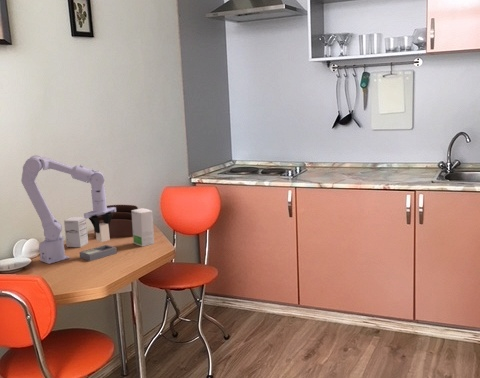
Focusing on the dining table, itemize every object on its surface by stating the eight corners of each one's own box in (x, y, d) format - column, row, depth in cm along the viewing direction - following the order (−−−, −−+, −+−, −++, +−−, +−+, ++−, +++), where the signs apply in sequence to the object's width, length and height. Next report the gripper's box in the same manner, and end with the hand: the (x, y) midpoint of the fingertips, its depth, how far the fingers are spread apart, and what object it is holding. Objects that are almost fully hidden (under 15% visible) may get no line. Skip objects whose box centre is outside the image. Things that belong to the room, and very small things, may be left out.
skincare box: (133, 243, 245) (130, 210, 242) (145, 240, 249) (142, 207, 246) (143, 247, 238) (139, 212, 236) (155, 243, 243) (152, 209, 240)
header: (90, 261, 222) (89, 254, 221) (80, 257, 227) (79, 251, 227) (117, 253, 231) (116, 247, 231) (106, 250, 236) (105, 244, 236)
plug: (101, 242, 227) (100, 226, 226) (96, 240, 230) (94, 224, 229) (109, 239, 230) (108, 223, 229) (104, 238, 233) (103, 222, 232)
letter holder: (101, 232, 269) (98, 205, 266) (140, 231, 267) (138, 203, 264) (94, 238, 259) (91, 209, 256) (134, 236, 257) (132, 208, 255)
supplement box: (66, 247, 245) (63, 220, 242) (74, 242, 252) (71, 216, 249) (80, 247, 243) (77, 220, 241) (89, 243, 250) (86, 216, 248)
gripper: (89, 204, 219) (92, 236, 222) (119, 198, 229) (122, 229, 232) (79, 202, 224) (83, 234, 226) (109, 196, 234) (112, 226, 237)
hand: (102, 231), depth 229 cm, fingers closed on plug, 4 cm apart
